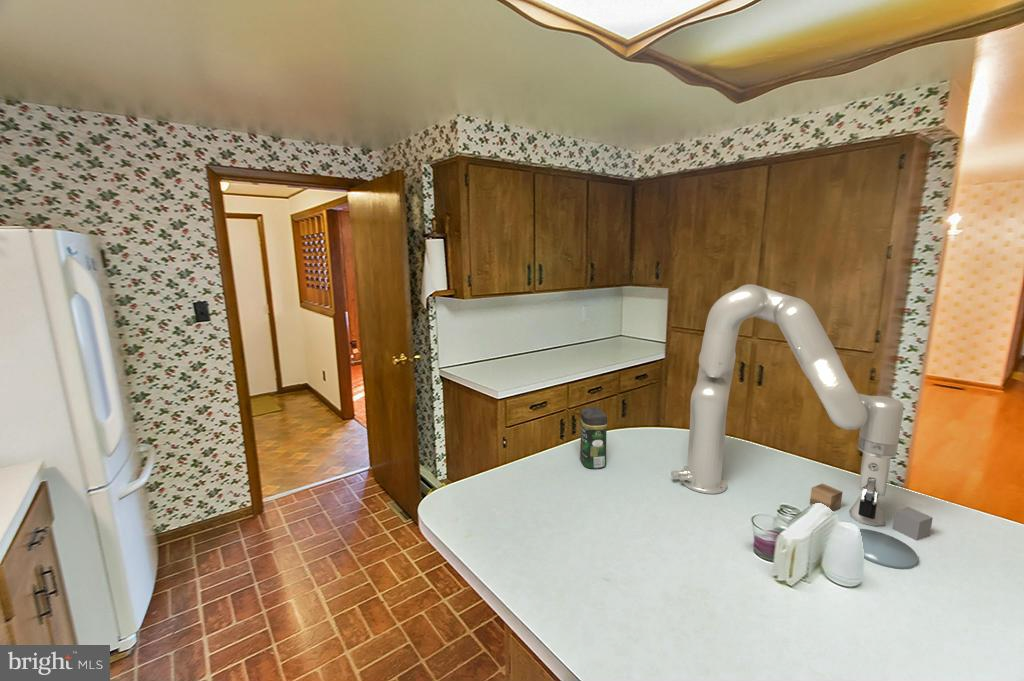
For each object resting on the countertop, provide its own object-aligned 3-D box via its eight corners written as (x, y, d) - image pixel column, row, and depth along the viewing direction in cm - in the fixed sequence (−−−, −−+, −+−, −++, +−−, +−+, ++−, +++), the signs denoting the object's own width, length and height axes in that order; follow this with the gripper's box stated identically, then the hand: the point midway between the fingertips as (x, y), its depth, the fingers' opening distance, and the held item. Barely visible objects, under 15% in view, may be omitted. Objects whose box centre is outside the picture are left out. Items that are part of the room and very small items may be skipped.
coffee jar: (577, 457, 150) (578, 405, 147) (600, 456, 151) (601, 404, 147) (584, 470, 140) (586, 415, 137) (609, 469, 141) (610, 414, 138)
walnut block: (829, 513, 116) (831, 496, 115) (809, 504, 120) (811, 487, 119) (840, 508, 118) (842, 491, 117) (820, 499, 123) (822, 483, 122)
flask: (891, 528, 109) (897, 491, 107) (858, 525, 111) (863, 488, 109) (874, 512, 116) (879, 477, 114) (843, 509, 118) (847, 474, 116)
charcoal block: (916, 541, 104) (919, 522, 104) (892, 529, 109) (895, 510, 108) (929, 536, 106) (932, 517, 105) (905, 524, 111) (908, 506, 110)
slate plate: (879, 571, 94) (879, 567, 94) (830, 534, 107) (830, 530, 107) (933, 566, 96) (934, 562, 96) (878, 530, 108) (879, 526, 108)
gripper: (895, 462, 101) (885, 529, 104) (898, 439, 114) (888, 500, 117) (854, 452, 106) (845, 517, 109) (861, 431, 119) (853, 490, 122)
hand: (867, 508), depth 113 cm, fingers open, 9 cm apart
